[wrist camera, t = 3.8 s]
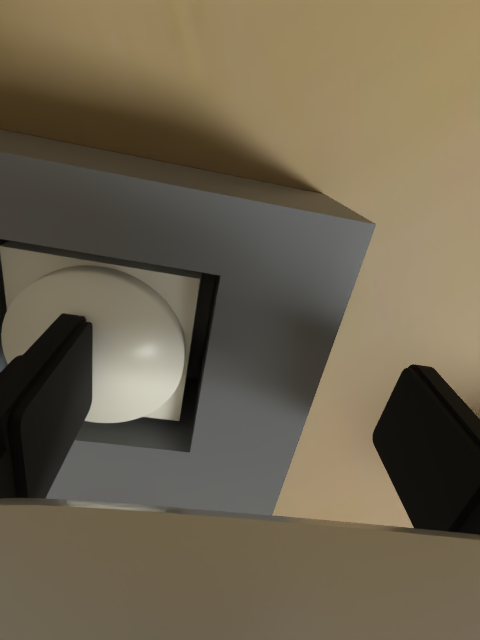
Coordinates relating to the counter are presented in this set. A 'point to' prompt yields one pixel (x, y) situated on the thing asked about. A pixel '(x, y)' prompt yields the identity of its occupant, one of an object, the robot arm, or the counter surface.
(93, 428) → the button panel
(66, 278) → the ivory button
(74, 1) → the counter surface
